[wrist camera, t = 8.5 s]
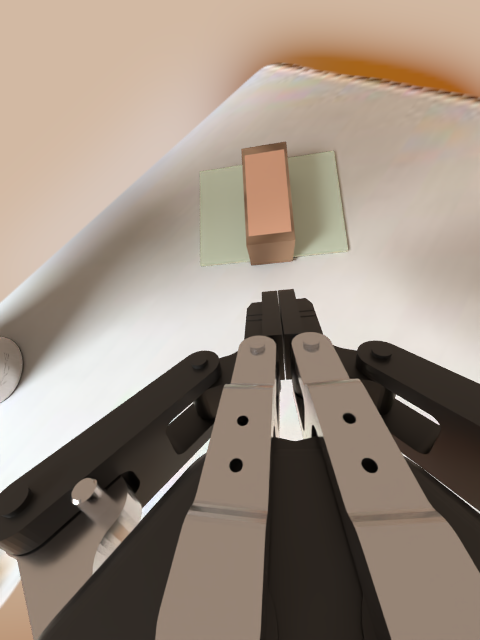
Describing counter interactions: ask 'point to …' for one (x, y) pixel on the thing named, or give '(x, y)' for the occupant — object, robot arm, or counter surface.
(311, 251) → the mat
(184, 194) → the counter surface
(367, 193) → the counter surface
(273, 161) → the walnut block
